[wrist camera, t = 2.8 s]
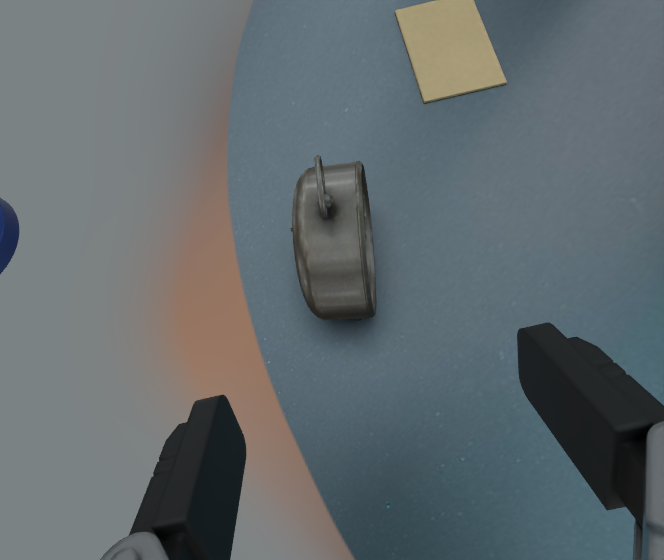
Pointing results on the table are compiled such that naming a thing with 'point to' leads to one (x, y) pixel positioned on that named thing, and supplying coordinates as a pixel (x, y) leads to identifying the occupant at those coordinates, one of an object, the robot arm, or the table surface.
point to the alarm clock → (334, 241)
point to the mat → (449, 49)
